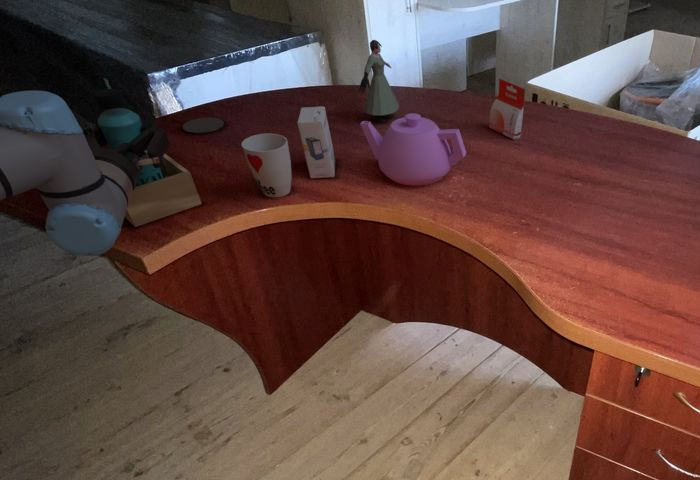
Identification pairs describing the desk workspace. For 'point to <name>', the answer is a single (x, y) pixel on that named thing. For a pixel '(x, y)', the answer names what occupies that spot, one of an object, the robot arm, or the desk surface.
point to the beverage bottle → (122, 128)
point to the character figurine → (378, 86)
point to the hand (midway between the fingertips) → (129, 122)
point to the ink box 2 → (508, 109)
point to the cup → (269, 163)
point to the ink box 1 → (317, 142)
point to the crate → (163, 195)
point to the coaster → (203, 125)
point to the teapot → (414, 150)
